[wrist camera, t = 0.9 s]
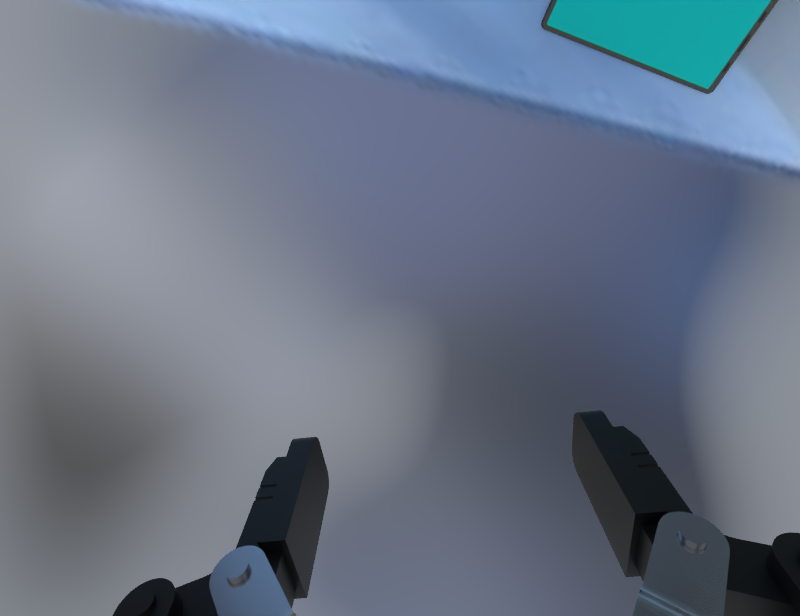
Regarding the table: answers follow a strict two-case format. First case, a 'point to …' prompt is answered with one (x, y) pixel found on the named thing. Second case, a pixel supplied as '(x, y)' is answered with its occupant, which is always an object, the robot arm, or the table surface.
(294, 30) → the table surface
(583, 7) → the smartphone
